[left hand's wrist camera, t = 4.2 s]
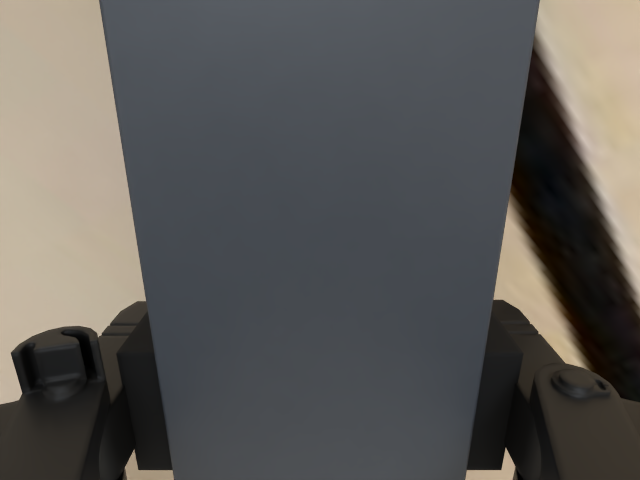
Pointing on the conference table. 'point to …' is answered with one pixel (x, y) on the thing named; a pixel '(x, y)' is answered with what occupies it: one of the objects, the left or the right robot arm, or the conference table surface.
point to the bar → (319, 223)
